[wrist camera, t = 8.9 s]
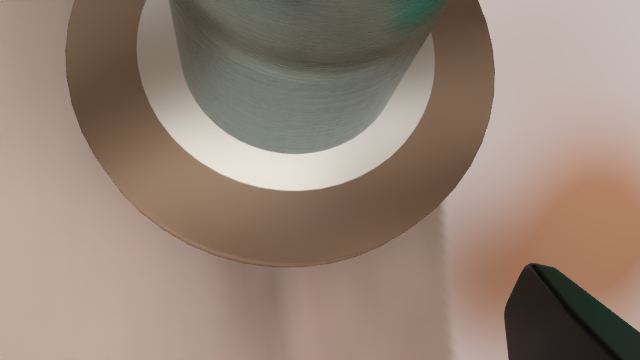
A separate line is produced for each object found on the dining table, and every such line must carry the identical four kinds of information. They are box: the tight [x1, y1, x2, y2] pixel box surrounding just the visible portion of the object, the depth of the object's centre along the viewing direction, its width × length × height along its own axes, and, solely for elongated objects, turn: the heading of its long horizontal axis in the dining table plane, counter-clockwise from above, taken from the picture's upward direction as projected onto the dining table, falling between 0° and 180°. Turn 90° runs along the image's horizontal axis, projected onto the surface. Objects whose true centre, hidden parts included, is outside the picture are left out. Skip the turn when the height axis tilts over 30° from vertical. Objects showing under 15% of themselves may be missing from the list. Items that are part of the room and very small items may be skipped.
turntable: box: [66, 0, 495, 267], centre depth 19 cm, size 13×13×1 cm
